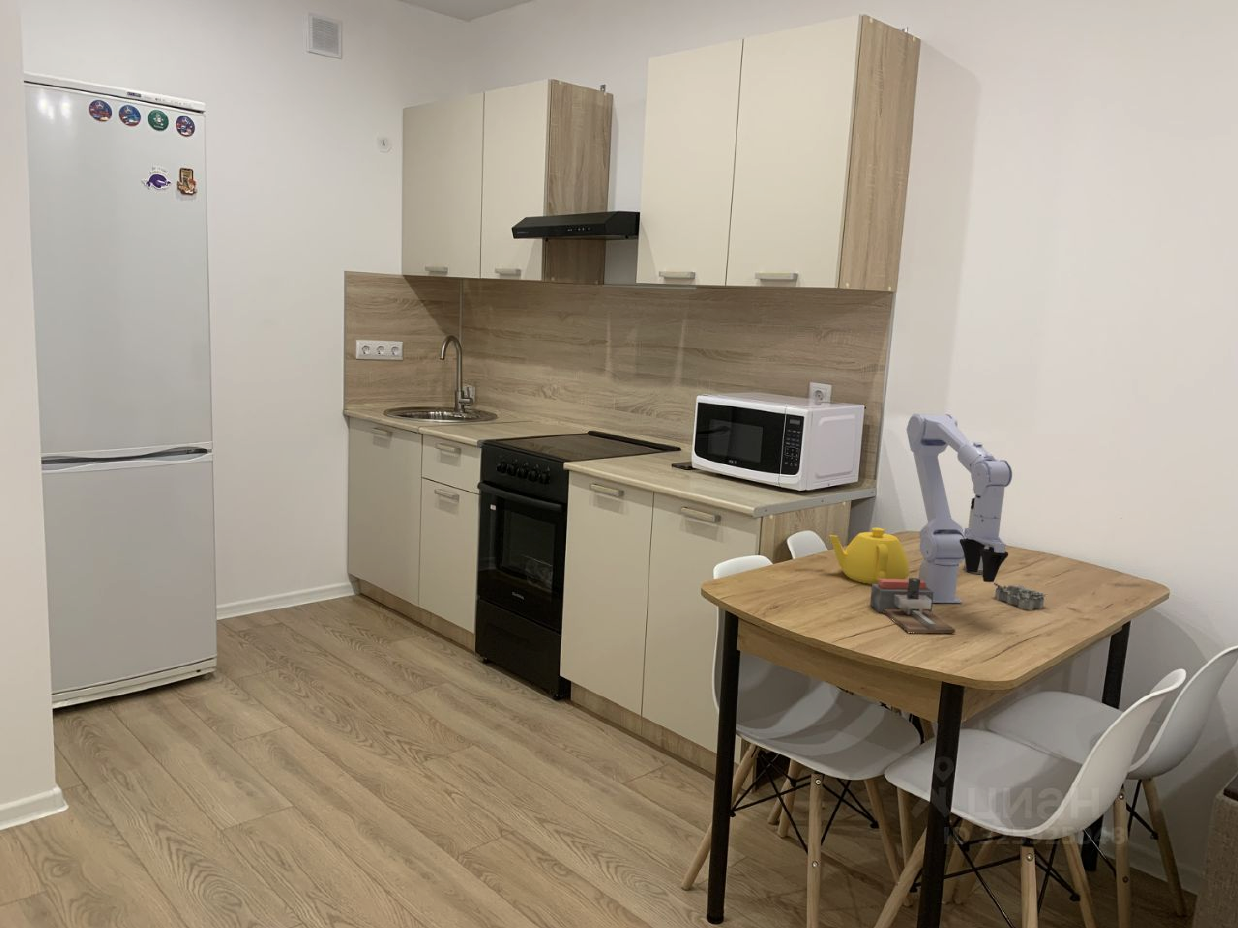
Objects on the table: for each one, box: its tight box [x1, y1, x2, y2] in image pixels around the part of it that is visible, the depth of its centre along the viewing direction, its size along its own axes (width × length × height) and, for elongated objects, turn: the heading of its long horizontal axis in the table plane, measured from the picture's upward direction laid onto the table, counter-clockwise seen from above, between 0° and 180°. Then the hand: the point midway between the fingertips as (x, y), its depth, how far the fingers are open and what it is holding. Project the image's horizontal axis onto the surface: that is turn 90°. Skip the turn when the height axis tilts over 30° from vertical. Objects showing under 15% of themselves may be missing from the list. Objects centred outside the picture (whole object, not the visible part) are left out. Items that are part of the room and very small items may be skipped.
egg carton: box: [993, 581, 1048, 611], centre depth 221 cm, size 11×8×4 cm
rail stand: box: [869, 584, 956, 634], centre depth 204 cm, size 19×12×5 cm, turn 6°
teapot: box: [829, 526, 910, 585], centre depth 235 cm, size 20×19×13 cm
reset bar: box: [878, 578, 926, 589], centre depth 211 cm, size 2×10×2 cm, turn 96°
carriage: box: [893, 577, 932, 614], centre depth 205 cm, size 4×7×7 cm, turn 96°
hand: (979, 576), depth 206 cm, fingers open, 7 cm apart
